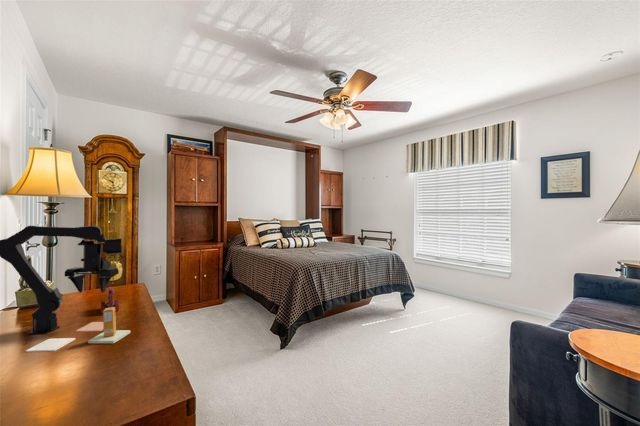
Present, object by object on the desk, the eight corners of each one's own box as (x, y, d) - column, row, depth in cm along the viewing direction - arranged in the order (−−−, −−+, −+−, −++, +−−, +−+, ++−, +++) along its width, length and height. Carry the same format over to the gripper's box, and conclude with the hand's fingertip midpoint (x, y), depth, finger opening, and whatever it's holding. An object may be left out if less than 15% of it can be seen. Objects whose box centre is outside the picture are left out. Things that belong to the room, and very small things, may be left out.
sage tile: (88, 343, 101) (88, 340, 101) (106, 332, 110) (107, 330, 110) (113, 343, 101) (113, 340, 101) (130, 332, 110) (130, 330, 110)
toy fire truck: (100, 315, 128) (100, 292, 128) (100, 308, 138) (100, 287, 138) (119, 312, 132) (119, 290, 132) (118, 305, 142) (118, 285, 142)
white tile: (25, 353, 94) (25, 350, 94) (49, 341, 103) (49, 338, 103) (54, 352, 95) (54, 349, 95) (75, 340, 104) (75, 337, 104)
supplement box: (105, 334, 106) (105, 307, 106) (116, 332, 107) (116, 306, 107) (102, 337, 103) (102, 310, 103) (113, 336, 104) (114, 309, 104)
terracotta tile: (75, 333, 110) (75, 330, 110) (92, 324, 119) (92, 322, 119) (100, 332, 111) (100, 330, 111) (114, 323, 120) (114, 321, 120)
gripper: (127, 253, 127) (127, 287, 127) (85, 252, 127) (85, 287, 127) (109, 256, 116) (108, 294, 116) (63, 256, 116) (63, 294, 116)
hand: (91, 292), depth 119 cm, fingers open, 9 cm apart
